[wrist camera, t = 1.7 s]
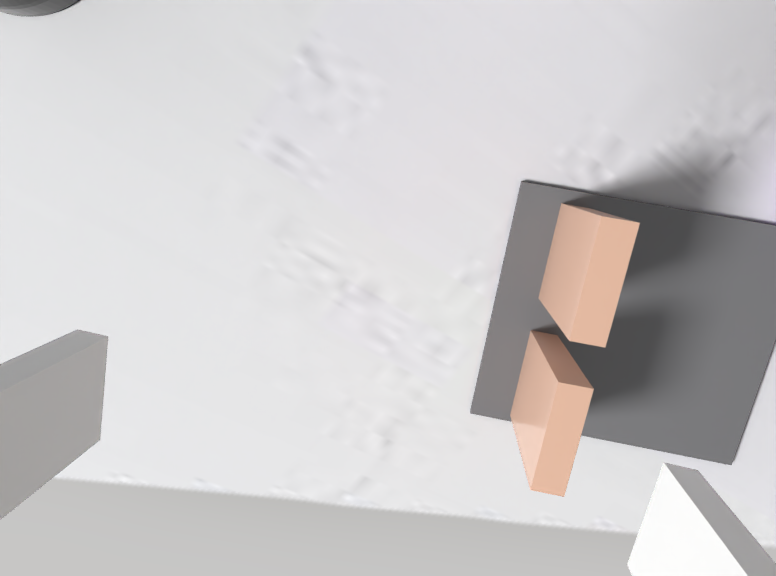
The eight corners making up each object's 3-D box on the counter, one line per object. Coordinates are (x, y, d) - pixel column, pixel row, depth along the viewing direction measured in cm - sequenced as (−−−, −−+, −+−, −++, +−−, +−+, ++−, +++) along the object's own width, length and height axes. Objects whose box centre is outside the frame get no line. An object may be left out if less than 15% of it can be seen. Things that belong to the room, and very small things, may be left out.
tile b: (530, 330, 40) (558, 382, 31) (559, 335, 40) (596, 389, 31) (510, 415, 42) (530, 489, 32) (537, 420, 42) (566, 497, 32)
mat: (521, 181, 39) (522, 181, 38) (810, 231, 37) (813, 232, 37) (470, 410, 43) (470, 413, 42) (728, 462, 42) (731, 465, 41)
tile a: (561, 203, 38) (601, 216, 29) (591, 208, 38) (642, 223, 28) (538, 298, 40) (569, 340, 30) (567, 303, 40) (608, 348, 30)
